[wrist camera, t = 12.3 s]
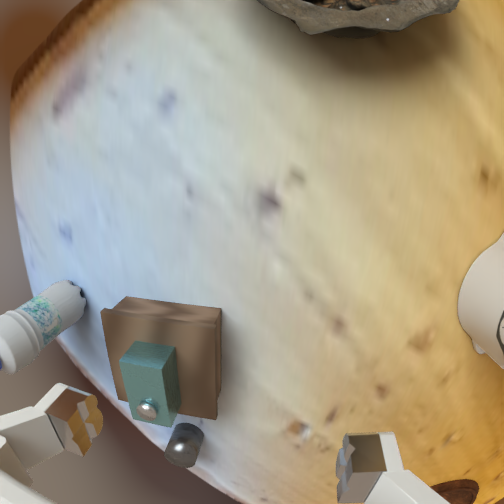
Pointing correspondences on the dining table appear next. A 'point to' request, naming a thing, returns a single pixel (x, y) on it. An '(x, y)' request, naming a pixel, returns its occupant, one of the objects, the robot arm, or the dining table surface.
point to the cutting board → (458, 491)
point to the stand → (171, 334)
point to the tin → (184, 445)
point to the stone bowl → (357, 14)
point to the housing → (151, 382)
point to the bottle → (38, 324)
